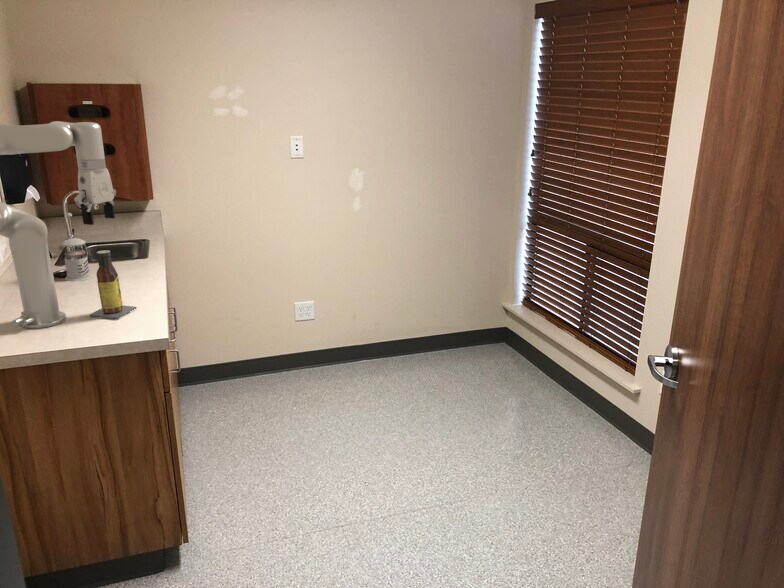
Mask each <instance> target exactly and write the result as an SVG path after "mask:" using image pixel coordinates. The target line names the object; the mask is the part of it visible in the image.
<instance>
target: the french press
mask: <svg viewBox="0 0 784 588" xmlns="http://www.w3.org/2000/svg"><path fill="white" fill-rule="evenodd" d="M65 215H66V217H68V220H69V225H70V230H71V237H72V238H69V239H65V240H64V241H62V242H61V245H62V246H63V247H73V250H71V251H68V252H67V251H66V252H65V253H64V264H65V270H66V277H65V278H64V281H67V282H83V281H87V280H88V281H89V280H90V279H92V278H93V277H94V275H93V274H92V273H90V267H89V260H88V249H87V246H86V240H83V239H82V238H75V237H74V235H73V229H72V223H71V217H72V216H73V214H72V213H71V212H67V213H66V214H65ZM83 245H84V247H85V250H86V251H85V250H84V249H83V248H84V247H83ZM75 247H80V248H81V250H76V248H75ZM81 256H82V257H81Z"/></svg>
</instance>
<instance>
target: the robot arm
mask: <svg viewBox="0 0 784 588" xmlns="http://www.w3.org/2000/svg"><path fill="white" fill-rule="evenodd" d="M102 133H103V132H102V127H101V125H100V124H99V123H97V122H91V121H82V122H81V121H80V122H67V121H60V120H57V121H56V120H55V121H51V122H49V123H43V124H25V125H23V124H22V125H20V124H19V125H17V124H7V123H0V156H4V155H9V156H10V155H19V154H34V153H35V154H36V153H48V152H60V151H64V150H67V149H68V148H70V147H73V146H74V148H75V154H76V155H75V157H76V161H77V168H78V171H77V187H78V188H77V189H78V194H77V195H76V196H75V197H74V198H73V201H74V202H75V204H76V207H77V209H78V210H79V211H80V212H81V215H82V216H81V217H82V223H83V225H90V226H93V225H94V224H95V221H94V216H93V211H92V207H93V205H95V206H96V205H99V204H104V205H103V213H104V218H106V219H115V217H116V215H115V209H114V206H115V201H116V196H117V195H116V194H117V190H116V189H115V188H113V187H114V186H113V184H112V182H113V181H112V178H111V174H110V171H109V170H108V168H107V166H106V157H105V151H104V150H105V149H104V143H103V135H102ZM48 231H49V230H48V227H47V225H46V223H45V222H44V220H42V219H40V218H39V217H37V216H35V215H33V214H31V213H28V212H26V211H24V210H21V209H19V208H16V207H14V206H12V205H9V204H7V203H5V202H2V201H0V236H2V237H5V238H8V246H9V249H10V252H11V256H12V260H13V265H14V270H15V275H16V278H17V279H16V280H17V284H18V290H19V295H20V299H21V304H22V305H21V306H22V310H23V311H21V312H20V314H21V315H20V316H19V317H17V318H14V319H13V320H12V325H13V326H14V327H17V326H21V327H22V328H25V329H43V328H49V327H53V326H56V325H58V324H62V323H63V322H64V321H65V320H66V319H67V315H66V313H65V312H63V311H60V306H59V302H58V301H59V300H58V294H57V289H56V283H55V277H54V273H53V267H52V262H51V261H52V260H51V256H50V250H49V245H48V244H49V243H48Z"/></svg>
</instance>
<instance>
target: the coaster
mask: <svg viewBox="0 0 784 588" xmlns="http://www.w3.org/2000/svg"><path fill="white" fill-rule="evenodd" d="M122 307H123V309H122V310H121V311H120V312H116V313H111V314H110V313H104V312H103V308H102V307H101V308H99V309H97V310H95V311H93V312H91V313H89V317H90V318H96V317H102V318H101V319H105V318H110V319H109V320H115V319H118V320H120V319H121V318H120V317H122V316H124V315H125V314H127V313H129V312H130V311H132V310H134V309H136V308H137V306H132V305H124V304H123V305H122ZM137 309H138V308H137ZM137 309H136V310H137ZM134 311H135V310H134ZM132 312H133V311H132ZM129 314H130V313H129ZM127 315H128V314H127ZM125 316H126V315H125ZM125 316H124V317H125ZM119 318H120V319H119ZM122 318H123V317H122Z"/></svg>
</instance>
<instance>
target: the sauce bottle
mask: <svg viewBox="0 0 784 588" xmlns="http://www.w3.org/2000/svg"><path fill="white" fill-rule="evenodd" d="M95 255H96V258H97V261H98V269H97V271H96V280H97V287H98V293H99V299H100V305H101V308H103V312H104V313H110V314H111V313H116V312H120V311H121V310H122V309H123V307H122V305H124V304H123V303H124V302H123V297H122V291H121V284H120V278H119V274H118V272H117V271H116V269H115V267H114V265H113V262H112V258H111V256H112V254H111V250H108V249H107V250H98V251H96V253H95Z"/></svg>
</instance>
